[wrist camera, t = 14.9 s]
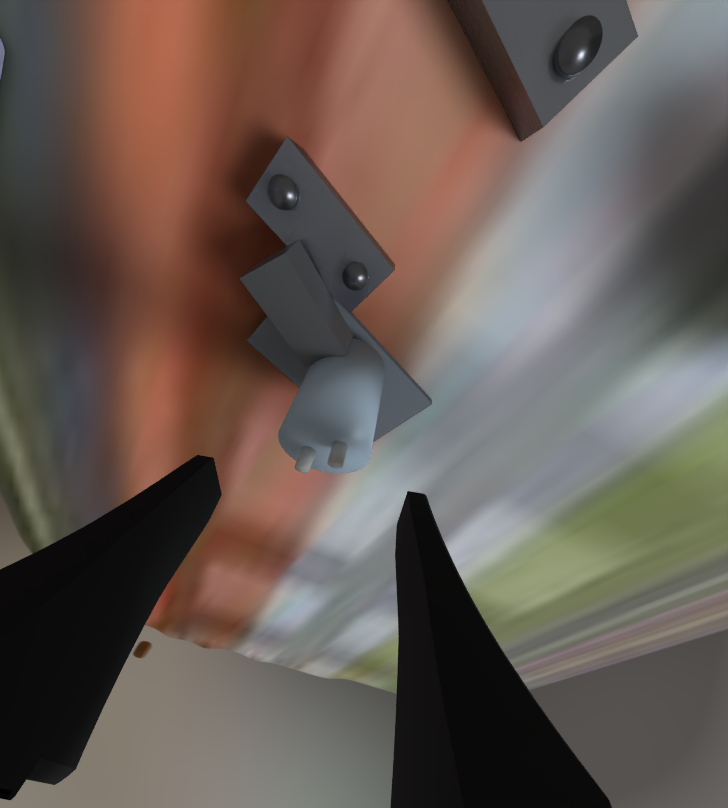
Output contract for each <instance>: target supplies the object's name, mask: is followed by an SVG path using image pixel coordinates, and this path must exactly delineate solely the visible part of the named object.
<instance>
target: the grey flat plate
mask: <svg viewBox="0 0 728 808" xmlns="http://www.w3.org/2000/svg"><path fill="white" fill-rule="evenodd" d="M329 293H330V292H329ZM330 295H331V297H332V299H333V300H334V302H335V304H336V306H337V307H338V309H339V311H340V313H341V315H342V316H343V318H344V320H345V322H346V323H347V325H348V327H349V329H350V331H351V332H352V334H353V337H352V338H355V339H358V340H361V341H363V342H366V343H367V344H369V345H370V346H372V347H373V348H374V349H375V350H376V351H377V352H378V353H379V354H380V356H381V357H382V359H383V361H384V364H385V378H384V383H383V389H382V394H381V400H380V406H379V411H378V417H377V422H376V428H375V433H374V439H373V442H374V441H376V440H377V439H379V438H381V437H382V436H384V435H385V434H387V433H388V432H390V431H391V430H393V429H394V428H396V427H397V426H399V425H401V424H402V423H404V422H405V421H407V420H408V419H410V418H411V417H413V416H414V415H416V414H417V413H419V412H421V411H422V410H424V409H425V408H427V407H428V406H430V405H431V404H432V400H431V398H430V397H429V396H428V395H427V394H426V393H425V392H424V391H423V390H422V389H421V387H420V386H419V385H418V384H417V383H416V382H415V381H414V380H413V379H412V378H411V377H410V376H409V374H408V373H407V372H406V371H405V370H404V369H403V368H402V367H401V366H400V365H399V364H398V362H397V361H396V360H395V359H394V358H393V357H392V356H391V355H390V354H389V353H388V352H387V350H386V349H385V348H384V347H383V346H382V345H381V344H380V343H379V342H378V341H377V340H376V338H375V337H374V336H373V335H372V334H371V333H370V332H369V331H368V330H367V329H366V328H365V326H364V325H363V324H362V323H361V322H360V321H359V320H358V319H357V318H356V317H355V316H354V314H353V313H352V312H351V313H350V314H349V313H348V312H347V311H346V309H345V308H344V307H343V306H342V305H341V304H340V303H339V302H338V301H337V300H336V299H335V298H334V296H333V295H332V294H331V293H330ZM247 342H248V343H250V344H251V345H252V346H253V347H254V348H255V349H256V350H257V351H259V352H260V353H261V354H262V355H263V356H264V357H265V358H266V359H268V360H269V361H270V362H271V363H272V364H273V365H274V366H276V367H277V368H278V369H279V370H280V371H281V372H282V373H283V374H285V375H286V376H287V377H288V378H289V379H290V380H291V381H292V382H294V383H295V384H296V385H297V386H298V387H299V388H300V386H301V384H302V382H303V380H304V378H305V375H306V373H307V371H308V369H309V367H310V366H309V367H305V366H304V365H303V363H302V362H301V361H300V359H299V358H298V357H297V355H296V354H295V353H294V351H293V350H292V349H291V347H290V346H289V345H288V343H287V342H286V340H285V339H284V338H283V336H282V335H281V334H280V332H279V331H278V330H277V328H276V327H275V326H274V324H273V323H272V322H271V320H270V319H269V318H268V316H267V317H266V319H265V320H264V321H263V322H262V323H261V324H260V326H259V327H258V328H257V329H256V330H255V331H254V332H253V334H252V335H251V336H250V337H249V338H248V339H247Z"/></svg>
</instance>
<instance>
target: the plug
mask: <svg viewBox="0 0 728 808" xmlns="http://www.w3.org/2000/svg"><path fill="white" fill-rule="evenodd" d="M239 279H240V280H241V281H242V283H243V284H244V285H245V287H246V288H247V289H248V291H249V292H250V294H251V295H252V296H253V298H254V299H255V300H256V302H257V303H258V304H259V306H260V307H261V308H262V310H263V311H264V312H265V314H266V315H267V316H268V318H269V319H270V320H271V322H272V323H273V324H274V326H275V327H276V328H277V330H278V331H279V332H280V334H281V335H282V336H283V338H284V339H285V340H286V342H287V343H288V345H289V346H290V347H291V349H292V350H293V351H294V353H295V354H296V355H297V357H298V358H299V359H300V361H301V362H302V363H303V365H304V366H305V367H309V366H310V367H309V369H308V371H307V373H306V375H305V378H304V380H303V382H302V384H301V386H300V388H299V390H298V392H297V394H296V396H295V398H294V401H293V403H292V405H291V407H290V409H289V411H288V413H287V415H286V417H285V419H284V421H283V424H282V426H281V428H280V430H279V434H278V438H279V442H280V444H281V446H282V448H283V449H284V450H285V451H286V453H287V454H288V455H290V456H291V457H292V458H293V459H295V460H296V461H297V462H296V464H295V469H296V470H298V471H300V472H303V473H307V472H309V471H310V468H312V469H315V470H319V471H323V472H328V473H350V472H354V471H357V470H359V469H361V468H363V467H364V466H365V465H366V464H367V463H368V461H369V459H370V455H371V450H372V444H373V439H374V433H375V428H376V422H377V417H378V411H379V406H380V400H381V394H382V389H383V383H384V378H385V364H384V361H383V359H382V357H381V356H380V354H379V353H378V352H377V351H376V350H375V349H374V348H373V347H372V346H370V345H369V344H367V343H366V342H363V341H361V340H358V339H355V338H352V337H353V334H352V332H351V331H350V329H349V327H348V325H347V323H346V322H345V320H344V318H343V316H342V315H341V313H340V311H339V309H338V307H337V306H336V304H335V302H334V300H333V299H332V297H331V295H330V293H329V291H328V290H327V288H326V286H325V284H324V283H323V281H322V279H321V277H320V275H319V274H318V272H317V270H316V268H315V267H314V265H313V263H312V261H311V259H310V258H309V256H308V254H307V252H306V251H305V249H304V247H303V245H302V243H301V242H300V240H297V241H295V242H293V243H292V244H290V245H288V246H286V247H284V248H283V249H281V250H279V251H277V252H276V253H274V254H272V255H270V256H269V257H267V258H265V259H263V260H262V261H260V262H258V263H256V264H255V265H254V266H253V267H252V268H251V269H250V270H248V271H247V272H246V273H245V274H244V275H243V276H242V277H240V278H239Z"/></svg>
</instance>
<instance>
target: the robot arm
mask: <svg viewBox="0 0 728 808" xmlns="http://www.w3.org/2000/svg"><path fill="white" fill-rule="evenodd" d="M4 55H5V49H4V46H3V43H2V41H1V39H0V79H1V73H2V67H3V61H4ZM221 495H222V494H221V490H220V485H219V480H218V476H217V471H216V467H215V462H214V458H212V457H206V456H200V455H197V456H195V457H194V458H192V459H191V460H189V461H187V462H186V463H184V464H183V465H181V466H180V467H179V468H177V469H176V470H174V471H173V472H171V473H170V474H168V475H167V476H165V477H164V478H162V479H161V480H159V481H158V482H156V483H154V484H153V485H151V486H150V487H148V488H147V489H145V490H144V491H142V492H141V493H139V494H138V495H136V496H134V497H133V498H131V499H130V500H128V501H126V502H125V503H123V504H121V505H120V506H118V507H117V508H115V509H113V510H112V511H110V512H108V513H107V514H105V515H103V516H102V517H100V518H98V519H97V520H95V521H93V522H92V523H90V524H88V525H86V526H85V527H83V528H81V529H79V530H77V531H76V532H74V533H72V534H70V535H68V536H66V537H64V538H63V539H61V540H59V541H57V542H55V543H53V544H51V545H49V546H48V547H46V548H44V549H42V550H40V551H38V552H36V553H34V554H32V555H29V556H27V557H25V558H23V559H21V560H19V561H17V562H15V563H13V564H11V565H9V566H7V567H5V568H3V569H0V798H1V799H6V800H11V799H12V798H13V797H15V795H16V794H17V792H18V791H19V789H20V788H21V786H22V785H23V783H24V782H25V780H26V779H27V780H32V781H37V782H43V783H48V784H53V785H55V784H57V783H59V782H60V781H62V780H63V779H64V778H66V777H67V776H68V775H70V774H71V773H72V772H73V771H74V770H75V769H76V767H77V765H78V763H79V760H80V758H81V756H82V753H83V751H84V749H85V747H86V744H87V742H88V740H89V738H90V735H91V733H92V731H93V729H94V727H95V725H96V722H97V720H98V718H99V716H100V714H101V711H102V709H103V707H104V705H105V703H106V701H107V699H108V696H109V695H110V693H111V690H112V688H113V686H114V684H115V682H116V680H117V678H118V676H119V674H120V672H121V670H122V668H123V665H124V664H125V661H126V659H127V658H128V656H129V654H130V652H131V650H132V648H133V646H134V644H135V642H136V640H137V638H138V636H139V635H140V633H141V631H142V629H143V627H144V625H145V623H146V621H147V619H148V618H149V616H150V614H151V612H152V610H153V608H154V607H155V605H156V603H157V601H158V599H159V597H160V596H161V594H162V592H163V591H164V589H165V587H166V586H167V584H168V583H169V581H170V580H171V578H172V576H173V575H174V573H175V572H176V570H177V569H178V567H179V566H180V564H181V563H182V561H183V560H184V558H185V557H186V555H187V554H188V552H189V551H190V549H191V548H192V546H193V544H194V543H195V541H196V540H197V538H198V537H199V535H200V534H201V532H202V531H203V529H204V527H205V526H206V524H207V523H208V521H209V519H210V517H211V515H212V513H213V511H214V509H215V507H216V505H217V503H218V501H219V499H220V497H221ZM395 559H396V582H397V603H398V628H399V645H398V676H397V700H396V701H397V703H396V724H395V742H394V763H393V779H392V794H391V808H612V806H611V804H610V801H609V800H608V798H607V796H606V795H605V794H604V792H603V791H602V790H601V788H600V787H599V786H598V785H597V783H596V782H595V781H594V779H593V778H592V777H591V775H590V774H589V773H588V772H587V770H586V769H585V768H584V766H583V765H582V764H581V762H580V761H579V760H578V759H577V757H576V756H575V754H574V753H573V752H572V750H571V749H570V748H569V746H568V745H567V744H566V742H565V741H564V740H563V738H562V737H561V735H560V734H559V733H558V731H557V730H556V728H555V727H554V726H553V724H552V723H551V721H550V720H549V719H548V717H547V716H546V714H545V713H544V712H543V710H542V709H541V707H540V706H539V705H538V703H537V702H536V700H535V699H534V698H533V696H532V695H531V693H530V692H529V690H528V688H527V687H526V685H525V684H524V682H523V681H522V679H521V678H520V676H519V675H518V673H517V672H516V670H515V669H514V667H513V666H512V664H511V663H510V661H509V660H508V658H507V657H506V655H505V654H504V652H503V651H502V649H501V648H500V646H499V644H498V643H497V641H496V639H495V638H494V636H493V635H492V633H491V631H490V630H489V628H488V626H487V625H486V623H485V621H484V619H483V618H482V616H481V614H480V612H479V611H478V609H477V607H476V605H475V604H474V602H473V600H472V598H471V596H470V594H469V593H468V591H467V589H466V587H465V585H464V583H463V581H462V579H461V577H460V575H459V573H458V571H457V569H456V567H455V565H454V563H453V561H452V559H451V556H450V554H449V552H448V550H447V547H446V545H445V543H444V541H443V539H442V536H441V534H440V531H439V529H438V526H437V524H436V521H435V519H434V516H433V514H432V511H431V508H430V505H429V502H428V499H427V497H426V495H425V494H422V493H416V492H410V491H408V492H407V495H406V498H405V501H404V505H403V508H402V511H401V514H400V517H399V520H398V523H397V532H396V550H395Z"/></svg>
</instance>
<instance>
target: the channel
mask: <svg viewBox="0 0 728 808" xmlns="http://www.w3.org/2000/svg"><path fill="white" fill-rule="evenodd" d="M448 1H449V3H450V5H451V7H452V9H453V11H454V13H455V15H456V17H457V19H458V21H459V23H460V24H461V26H462V28H463V30H464V32H465V34H466V36H467V38H468V40H469V42H470V44H471V46H472V48H473V49H474V51H475V53H476V55H477V57H478V59H479V61H480V63H481V65H482V67H483V69H484V71H485V73H486V74H487V76H488V78H489V80H490V82H491V84H492V86H493V88H494V90H495V92H496V94H497V96H498V97H499V99H500V101H501V103H502V105H503V107H504V109H505V111H506V113H507V115H508V117H509V119H510V121H511V122H512V124H513V126H514V128H515V130H516V132H517V134H518V136H519V138H520V140H521V142H522V141H523V140H525V139H526V138H528V137H529V136H531V135H532V134H534V133H535V132H537V131H538V130H540V129H541V128H543V127H544V126H545V125H546V124H547V123H548V122H549V121H550V120H551V119H552V118H553V117H554V116H555V115H557V114H558V113H559V112H560V111H561V110H562V109H563V108H564V107H565V106H566V105H567V104H568V103H569V102H570V101H571V100H572V99H573V98H574V97H575V96H576V95H577V94H578V93H579V92H580V91H581V90H583V89H584V88H585V87H586V86H587V85H588V84H589V83H590V82H591V81H592V80H593V79H594V78H595V77H596V76H597V75H598V74H599V73H600V72H601V71H602V70H603V69H604V68H605V67H606V66H607V65H609V64H610V63H611V62H612V61H613V60H614V59H615V58H616V57H617V56H618V55H619V54H620V53H621V52H622V51H623V50H624V49H625V48H626V47H627V46H628V45H629V44H630V43H631V42H632V41H633V40H635V39H636V38H637V37H638V35H637V32H636V29H635V26H634V23H633V20H632V17H631V14H630V11H629V8H628V5H627V2H626V0H448ZM246 202H247V203H248V204H249V205H250V206H251V208H252V209H253V210H254V211H255V212H256V213H257V214H258V215H259V216H260V217H261V218H262V219H263V221H264V222H265V223H266V224H267V225H268V226H269V227H270V228H271V229H272V230H273V231H274V232H275V234H276V235H277V236H278V237H279V238H280V239H281V240H282V241H283V242H284V243H285V244H286V246H288V245H290V244H292V243H293V242H295V241H297V240H300V242H301V243H302V245H303V247H304V249H305V251H306V252H307V254H308V256H309V258H310V259H311V261H312V263H313V265H314V267H315V268H316V270H317V272H318V274H319V275H320V277H321V279H322V281H323V283H324V284H325V286H326V288H327V290H328V291H329V292H330V293H331V294H332V295H333V296H334V298H335V299H336V300H337V301H338V302H339V303H340V304H341V305H342V306H343V307H344V308H345V309H346V311H347V312H348V313H349V314H350V313H351V312H352V311H353V310H354V309H355V308H356V307H357V306H358V305H359V304H360V303H361V302H362V301H363V300H364V299H365V298H366V297H367V296H368V295H369V294H370V293H371V292H372V291H373V290H375V289H376V288H377V287H378V286H379V285H380V284H381V283H382V282H383V281H384V280H385V279H386V278H387V277H388V276H389V275H390V274H391V273H392V272H393V271H394V269H395V264H394V263H393V262H392V260H391V259H390V258H389V256H388V255H387V254H386V253H385V251H384V250H383V249H382V248H381V246H380V245H379V244H378V243H377V241H376V240H375V239H374V238H373V236H372V235H371V234H370V233H369V231H368V230H367V229H366V227H365V226H364V225H363V224H362V222H361V221H360V220H359V219H358V217H357V216H356V215H355V214H354V212H353V211H352V210H351V209H350V207H349V206H348V205H347V203H346V202H345V201H344V200H343V198H342V197H341V196H340V195H339V193H338V192H337V191H336V190H335V188H334V187H333V186H332V185H331V183H330V182H329V181H328V180H327V178H326V177H325V176H324V174H323V173H322V172H321V171H320V169H319V168H318V167H317V166H316V164H315V163H314V162H313V161H312V159H311V158H310V157H309V156H308V154H307V153H306V152H305V151H304V149H303V148H301V147H300V146H299V145H298V144H296V143H295V142H294V141H292V140H291V139H290V138H289V137H287V138H286V139H285V141H284V142H283V144H282V145H281V147H280V149H279V150H278V152H277V153H276V155H275V156H274V158H273V159H272V161H271V162H270V164H269V166H268V167H267V169H266V170H265V172H264V173H263V175H262V176H261V178H260V180H259V181H258V183H257V184H256V186H255V187H254V189H253V190H252V192H251V194H250V195H249V197H248V198H247V200H246Z"/></svg>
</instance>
